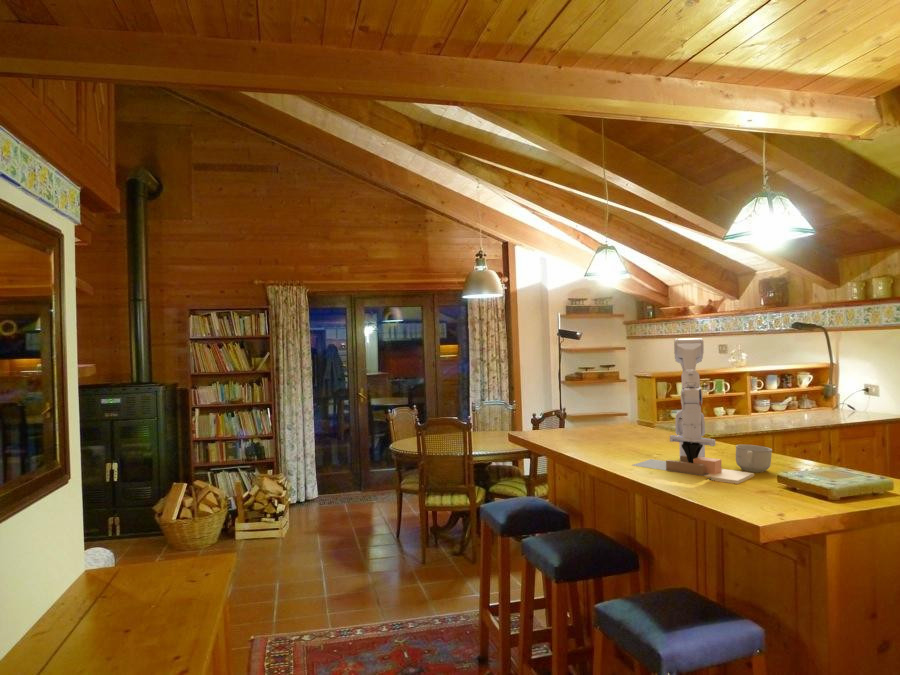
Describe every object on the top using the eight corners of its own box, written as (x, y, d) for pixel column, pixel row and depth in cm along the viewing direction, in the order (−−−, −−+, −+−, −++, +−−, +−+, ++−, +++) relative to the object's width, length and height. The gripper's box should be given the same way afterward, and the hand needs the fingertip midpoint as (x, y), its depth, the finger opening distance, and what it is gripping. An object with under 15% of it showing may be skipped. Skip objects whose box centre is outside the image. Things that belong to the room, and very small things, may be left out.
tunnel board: (650, 462, 221) (650, 450, 221) (754, 476, 196) (753, 463, 196) (631, 468, 211) (631, 456, 211) (737, 484, 186) (737, 470, 186)
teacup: (743, 466, 212) (742, 442, 212) (777, 470, 204) (776, 446, 204) (726, 472, 202) (726, 448, 202) (762, 477, 194) (761, 452, 194)
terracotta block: (700, 468, 203) (699, 456, 203) (721, 471, 198) (721, 459, 198) (693, 471, 200) (693, 458, 200) (715, 474, 195) (715, 461, 195)
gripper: (665, 423, 205) (665, 464, 205) (708, 427, 195) (709, 470, 195) (674, 421, 210) (675, 461, 210) (717, 425, 200) (718, 467, 200)
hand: (692, 465), depth 203 cm, fingers closed
